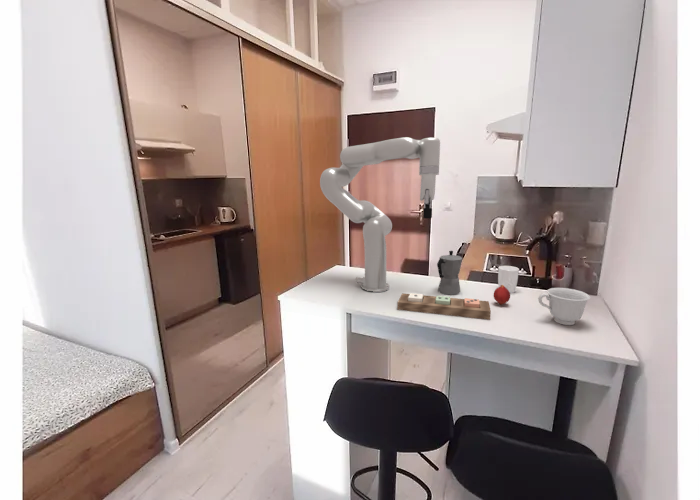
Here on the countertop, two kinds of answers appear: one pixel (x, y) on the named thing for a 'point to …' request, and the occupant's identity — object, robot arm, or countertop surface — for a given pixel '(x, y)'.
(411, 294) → the button one
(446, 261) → the coffeepot
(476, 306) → the button three
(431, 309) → the button panel
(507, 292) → the pomegranate
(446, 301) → the button two
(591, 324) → the countertop surface
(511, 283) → the white cup
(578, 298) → the teacup
